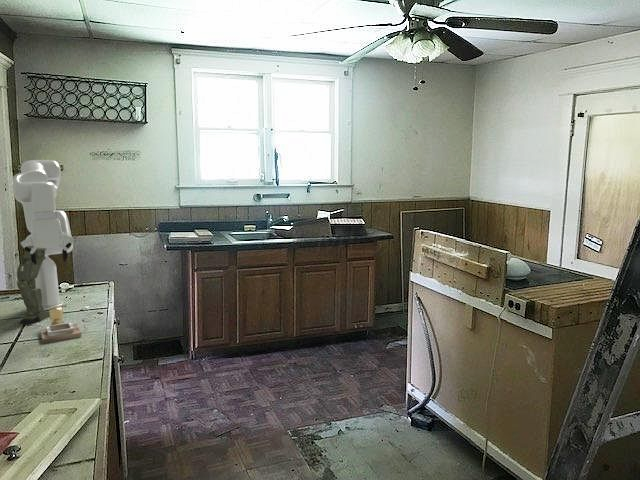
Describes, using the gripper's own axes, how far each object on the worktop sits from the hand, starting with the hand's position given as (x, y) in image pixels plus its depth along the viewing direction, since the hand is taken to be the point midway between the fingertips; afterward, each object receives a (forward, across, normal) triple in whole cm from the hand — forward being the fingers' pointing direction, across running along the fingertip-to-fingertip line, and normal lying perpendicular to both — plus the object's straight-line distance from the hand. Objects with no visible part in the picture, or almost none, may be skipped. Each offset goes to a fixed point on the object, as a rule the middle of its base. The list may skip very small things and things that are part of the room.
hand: (50, 262), depth 188 cm
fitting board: (+25, 0, +11) cm, 27 cm away
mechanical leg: (+24, +6, -14) cm, 28 cm away
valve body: (+24, 0, 0) cm, 24 cm away
